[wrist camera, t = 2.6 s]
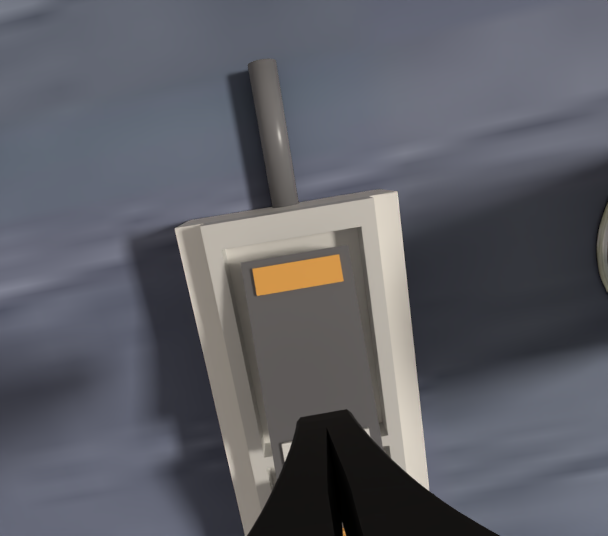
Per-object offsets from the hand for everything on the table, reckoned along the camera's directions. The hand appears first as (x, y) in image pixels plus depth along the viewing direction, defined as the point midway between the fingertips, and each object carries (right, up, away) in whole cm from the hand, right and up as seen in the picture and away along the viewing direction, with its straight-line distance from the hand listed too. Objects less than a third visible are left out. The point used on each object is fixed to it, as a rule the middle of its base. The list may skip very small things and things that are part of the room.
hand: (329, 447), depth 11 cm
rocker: (0, +1, +5) cm, 6 cm away
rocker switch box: (0, 0, +11) cm, 11 cm away
